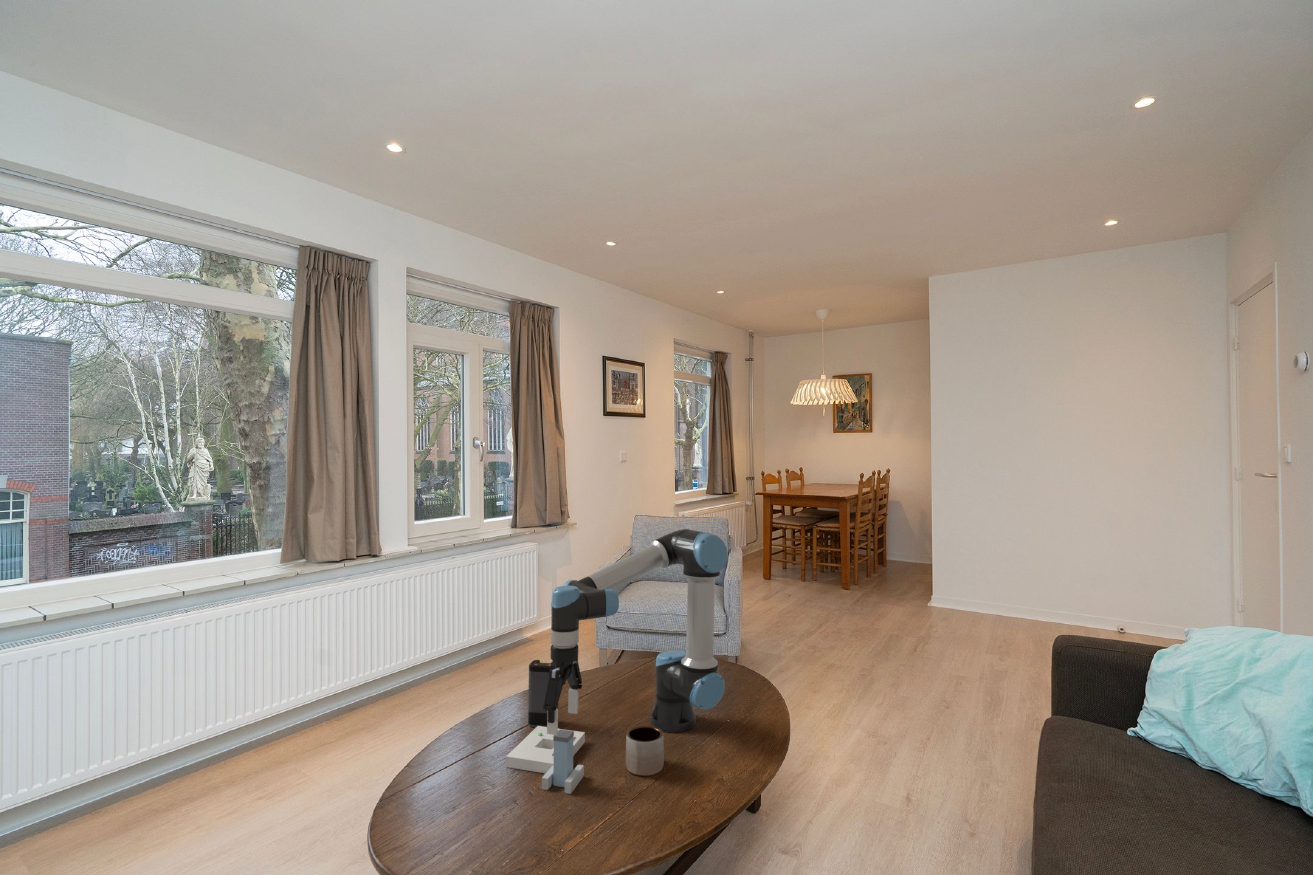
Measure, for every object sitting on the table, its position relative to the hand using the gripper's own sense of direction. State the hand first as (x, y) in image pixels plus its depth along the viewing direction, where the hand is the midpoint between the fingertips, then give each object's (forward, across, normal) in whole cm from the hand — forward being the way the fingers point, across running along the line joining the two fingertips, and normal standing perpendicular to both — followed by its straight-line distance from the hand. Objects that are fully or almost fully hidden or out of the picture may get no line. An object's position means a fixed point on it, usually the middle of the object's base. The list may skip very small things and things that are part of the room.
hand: (563, 722), depth 165 cm
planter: (+16, -14, +19) cm, 29 cm away
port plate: (+16, -13, -11) cm, 23 cm away
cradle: (+16, 0, 0) cm, 16 cm away
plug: (+16, 0, 0) cm, 16 cm away
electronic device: (+16, -31, -21) cm, 41 cm away
